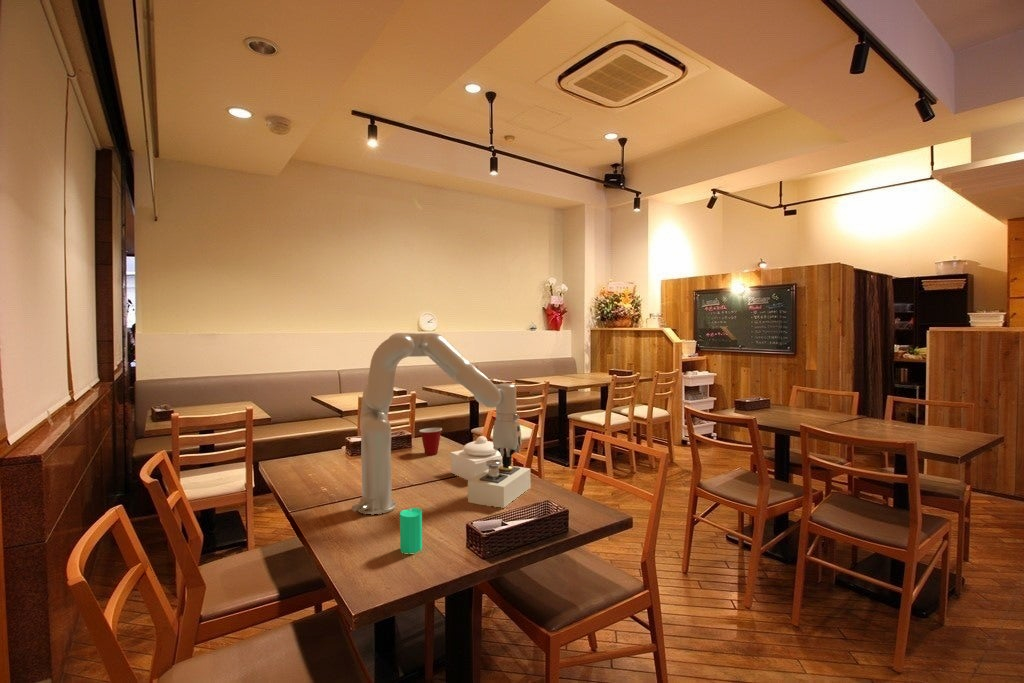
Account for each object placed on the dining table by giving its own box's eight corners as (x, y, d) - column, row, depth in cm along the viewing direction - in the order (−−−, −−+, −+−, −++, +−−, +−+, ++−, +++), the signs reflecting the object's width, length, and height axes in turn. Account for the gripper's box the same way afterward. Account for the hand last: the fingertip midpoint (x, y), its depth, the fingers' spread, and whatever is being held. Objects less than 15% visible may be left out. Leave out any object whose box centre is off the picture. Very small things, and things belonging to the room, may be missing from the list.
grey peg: (496, 487, 165) (496, 464, 165) (483, 485, 167) (483, 462, 167) (503, 483, 170) (503, 460, 169) (490, 480, 172) (490, 458, 172)
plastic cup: (435, 449, 236) (434, 425, 235) (446, 454, 228) (446, 429, 227) (415, 453, 229) (414, 428, 228) (426, 458, 221) (426, 432, 220)
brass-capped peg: (509, 491, 174) (509, 469, 174) (497, 489, 176) (497, 467, 176) (516, 486, 179) (515, 465, 178) (503, 484, 181) (503, 463, 181)
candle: (423, 544, 135) (423, 502, 134) (420, 554, 129) (420, 510, 128) (402, 544, 135) (401, 502, 134) (398, 555, 129) (397, 511, 128)
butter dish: (475, 484, 185) (475, 443, 184) (450, 473, 199) (449, 435, 198) (510, 475, 196) (510, 436, 196) (484, 465, 210) (484, 429, 209)
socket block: (503, 508, 160) (503, 485, 160) (467, 502, 166) (467, 479, 166) (530, 488, 180) (530, 467, 180) (497, 483, 186) (497, 462, 186)
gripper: (529, 416, 177) (529, 466, 177) (493, 413, 183) (493, 461, 184) (520, 420, 170) (521, 472, 171) (483, 417, 176) (484, 466, 177)
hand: (506, 466), depth 177 cm, fingers closed
